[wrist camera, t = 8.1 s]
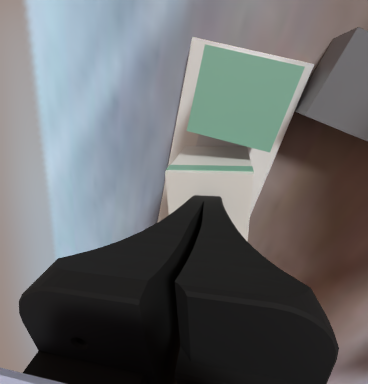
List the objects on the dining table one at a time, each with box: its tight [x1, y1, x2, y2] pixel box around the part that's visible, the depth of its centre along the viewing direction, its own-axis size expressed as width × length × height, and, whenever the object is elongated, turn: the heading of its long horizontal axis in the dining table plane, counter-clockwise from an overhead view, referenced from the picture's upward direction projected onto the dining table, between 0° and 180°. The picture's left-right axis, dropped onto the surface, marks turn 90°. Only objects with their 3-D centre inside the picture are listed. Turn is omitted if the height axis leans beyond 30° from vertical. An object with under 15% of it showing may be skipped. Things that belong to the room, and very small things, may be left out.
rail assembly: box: [157, 37, 314, 223], centre depth 14 cm, size 7×15×5 cm, turn 167°
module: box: [165, 146, 254, 241], centre depth 13 cm, size 4×4×5 cm
